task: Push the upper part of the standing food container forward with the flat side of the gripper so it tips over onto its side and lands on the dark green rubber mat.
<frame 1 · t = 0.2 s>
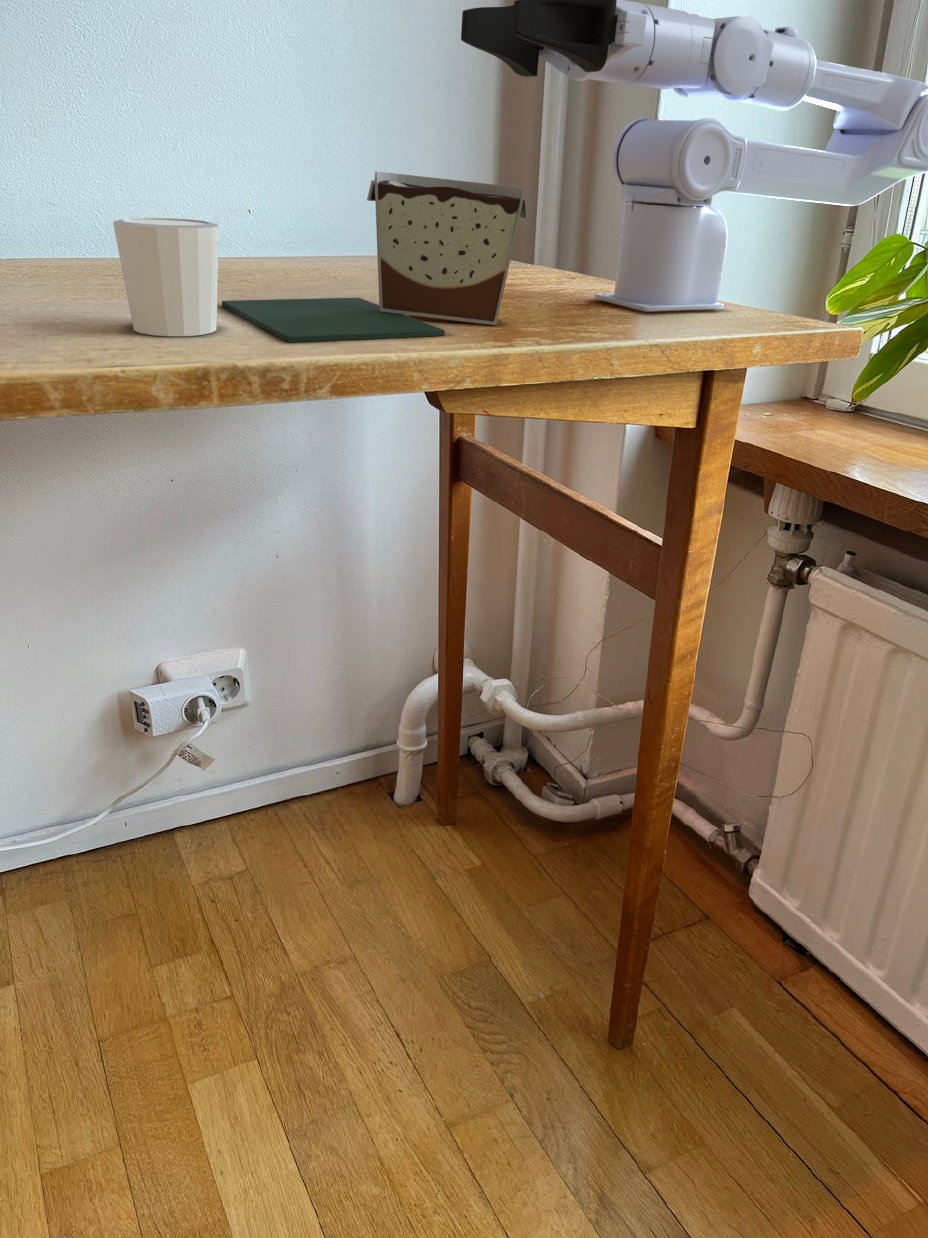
hand: (488, 20, 71), 21 cm above the table, tool horizontal, fingers open, 7 cm apart
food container: (442, 316, 78), on the table, touching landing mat
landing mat: (327, 319, 73), on the table
white cup: (175, 331, 67), on the table
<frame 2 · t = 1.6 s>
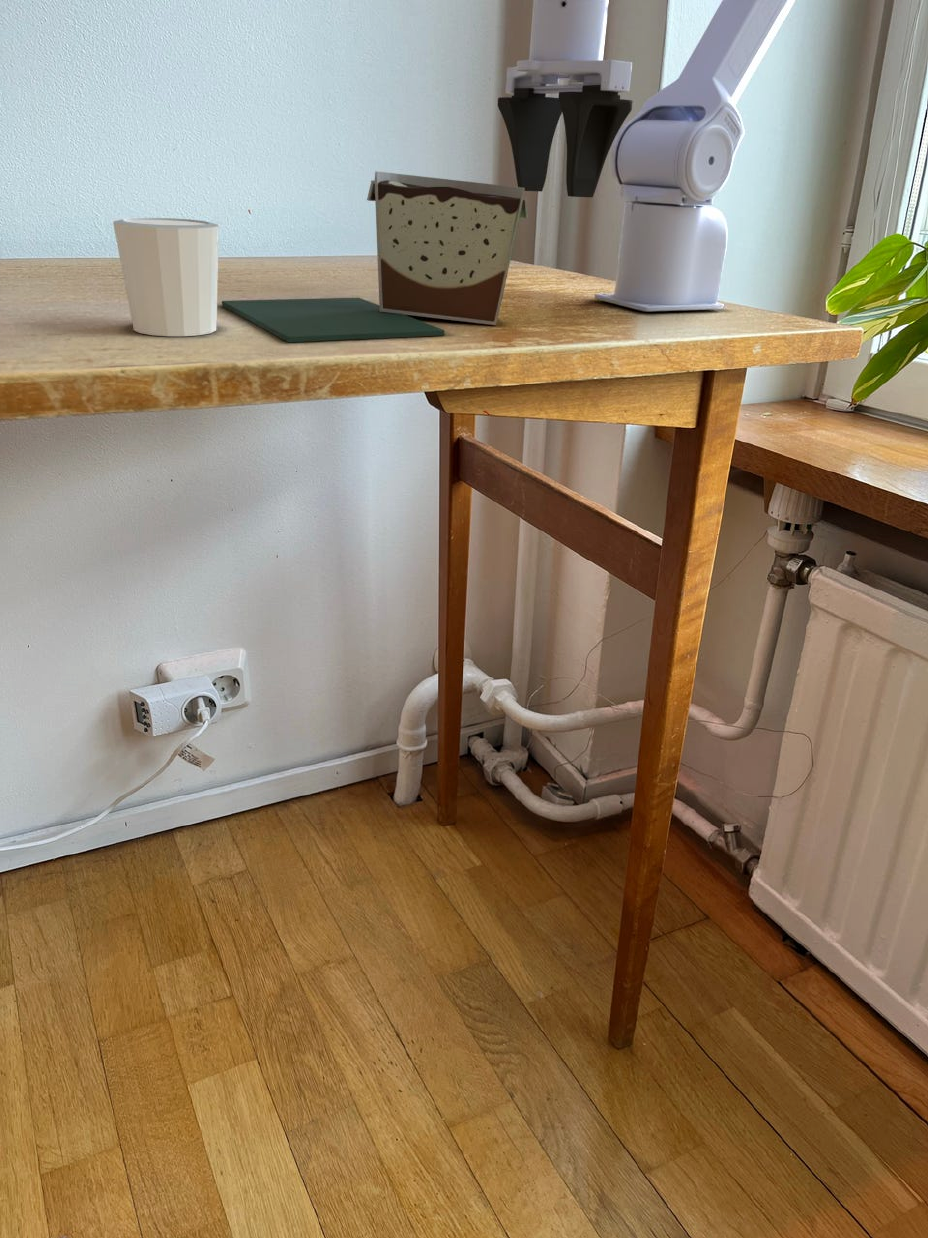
hand: (554, 193, 78), 9 cm above the table, tool pointing down, fingers open, 7 cm apart
nothing on the table moved.
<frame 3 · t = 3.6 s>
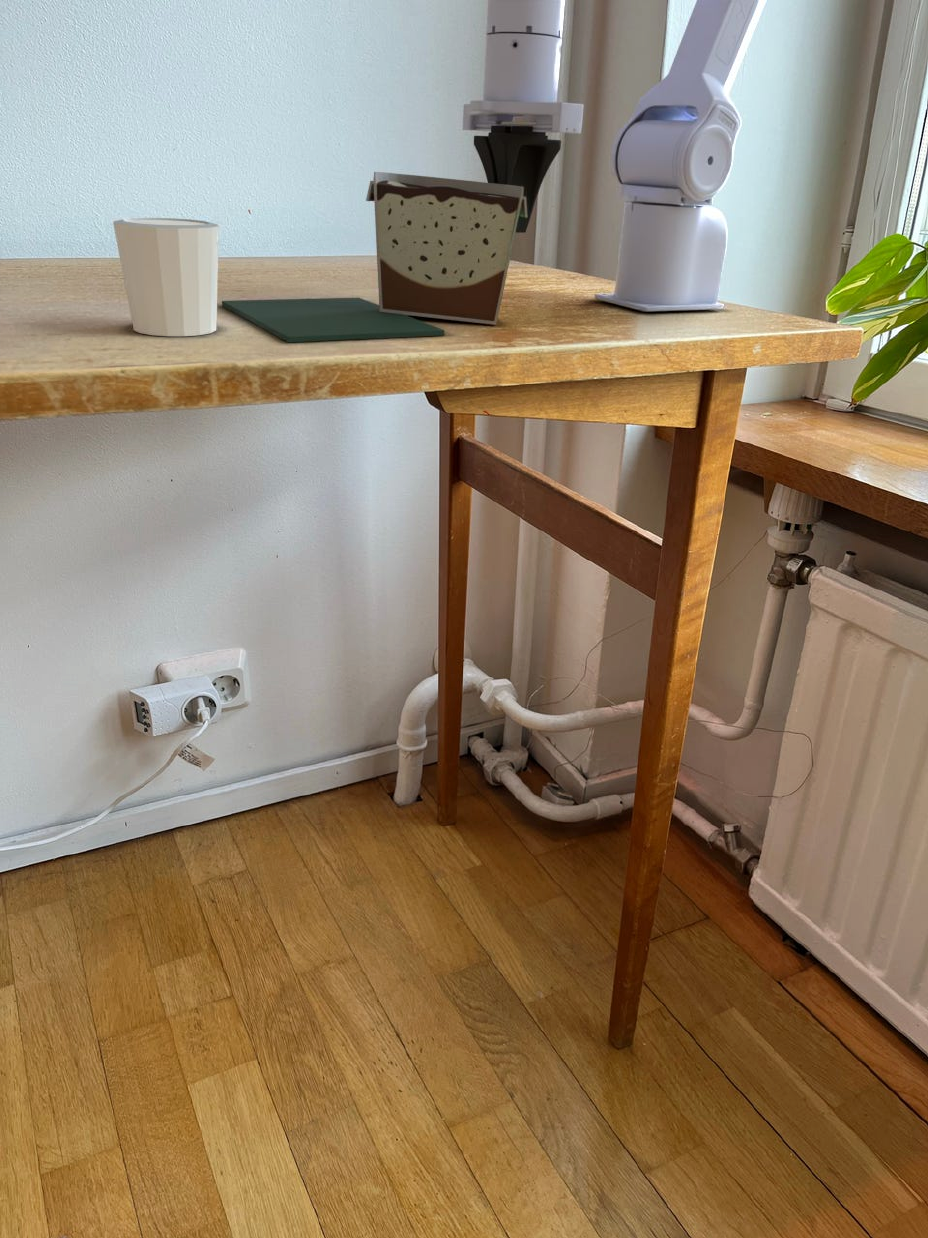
hand: (510, 231, 77), 6 cm above the table, tool pointing down, fingers closed
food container: (442, 315, 78), on the table, touching gripper, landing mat
everything else where it was.
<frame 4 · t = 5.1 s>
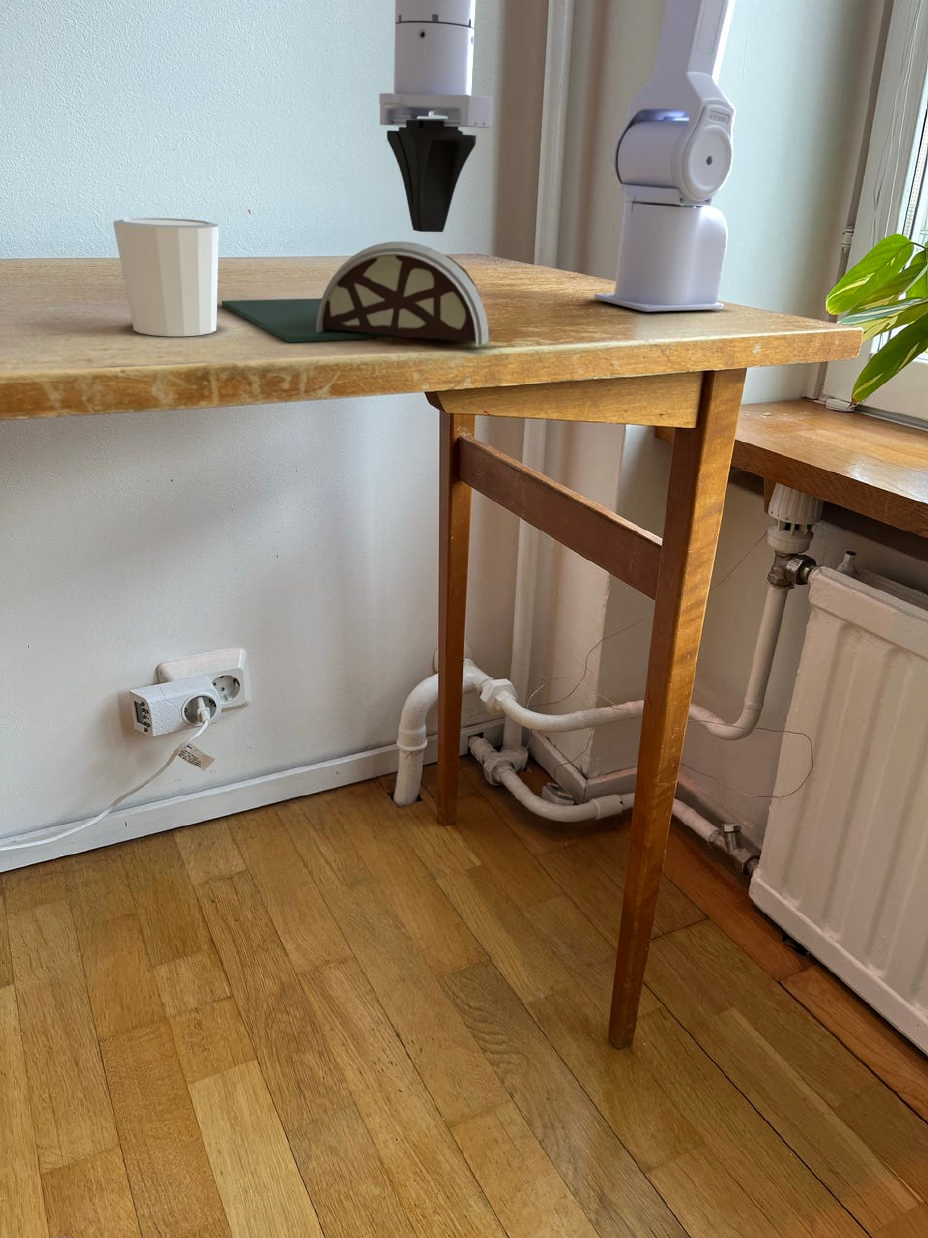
hand: (428, 231, 74), 6 cm above the table, tool pointing down, fingers closed
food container: (425, 275, 73), point 3 cm above the table, touching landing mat
everything else where it was.
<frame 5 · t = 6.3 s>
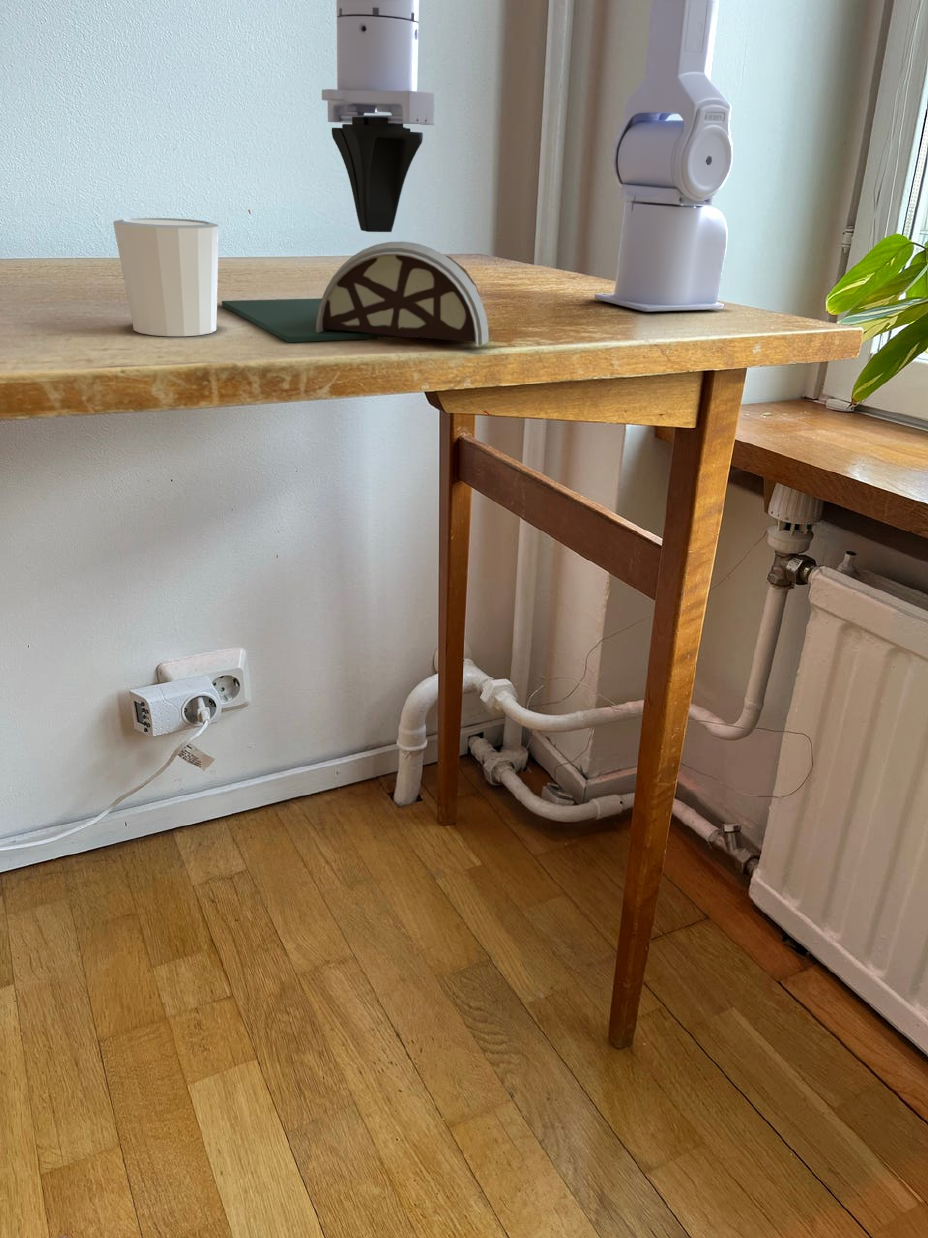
hand: (376, 231, 72), 6 cm above the table, tool pointing down, fingers closed
nothing on the table moved.
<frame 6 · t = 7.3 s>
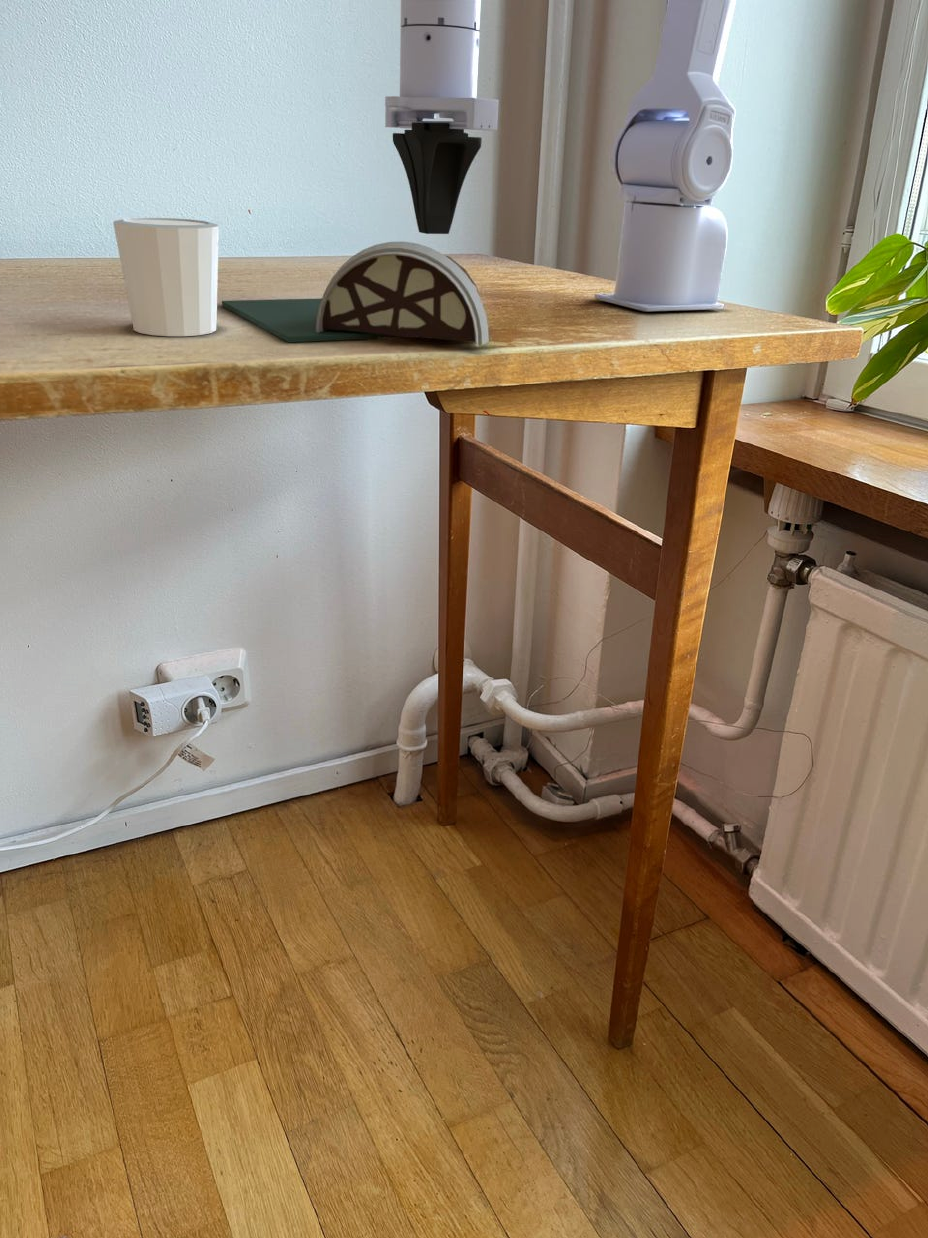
hand: (433, 233, 74), 6 cm above the table, tool pointing down, fingers closed
nothing on the table moved.
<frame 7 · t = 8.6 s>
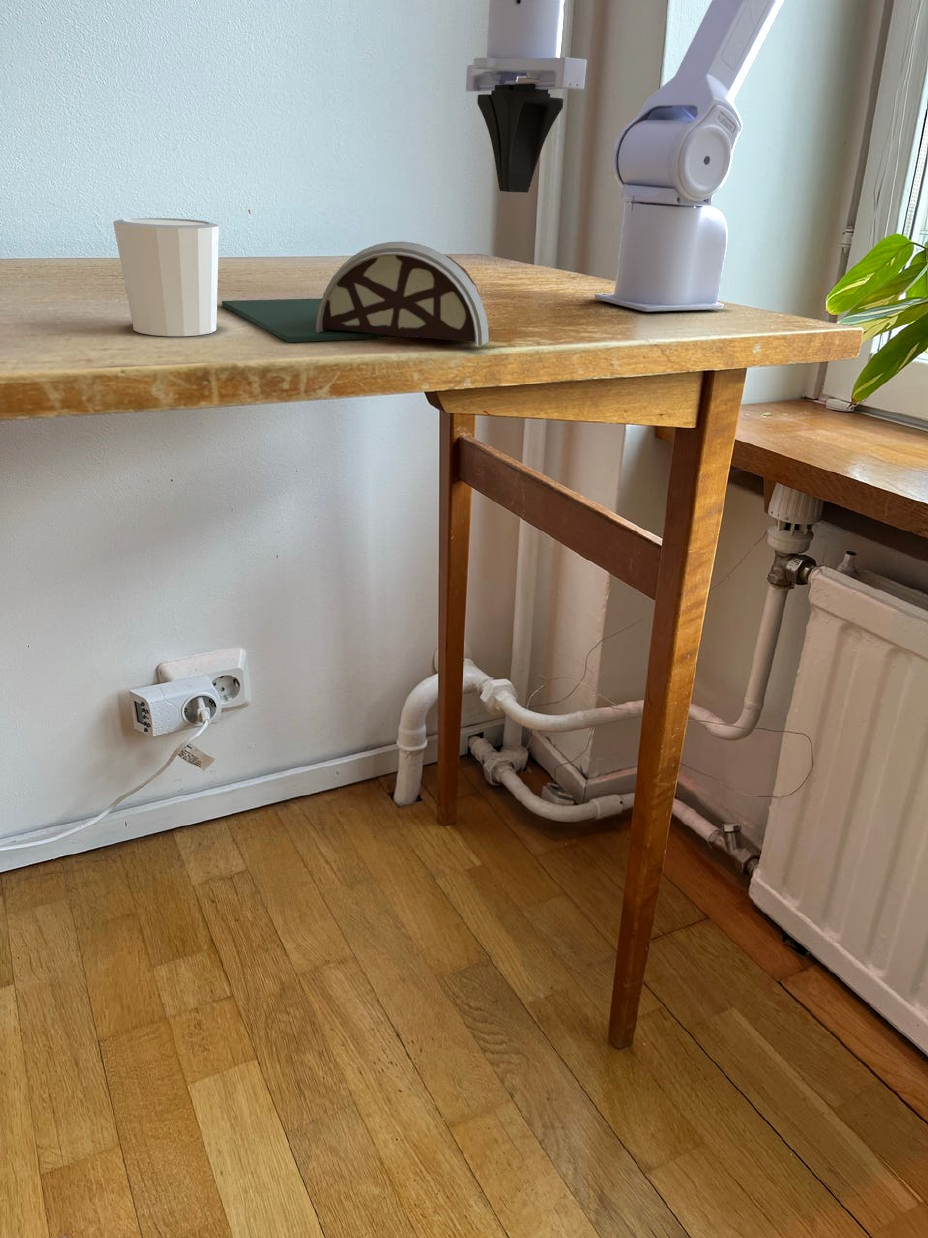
hand: (514, 191, 78), 9 cm above the table, tool pointing down, fingers closed
nothing on the table moved.
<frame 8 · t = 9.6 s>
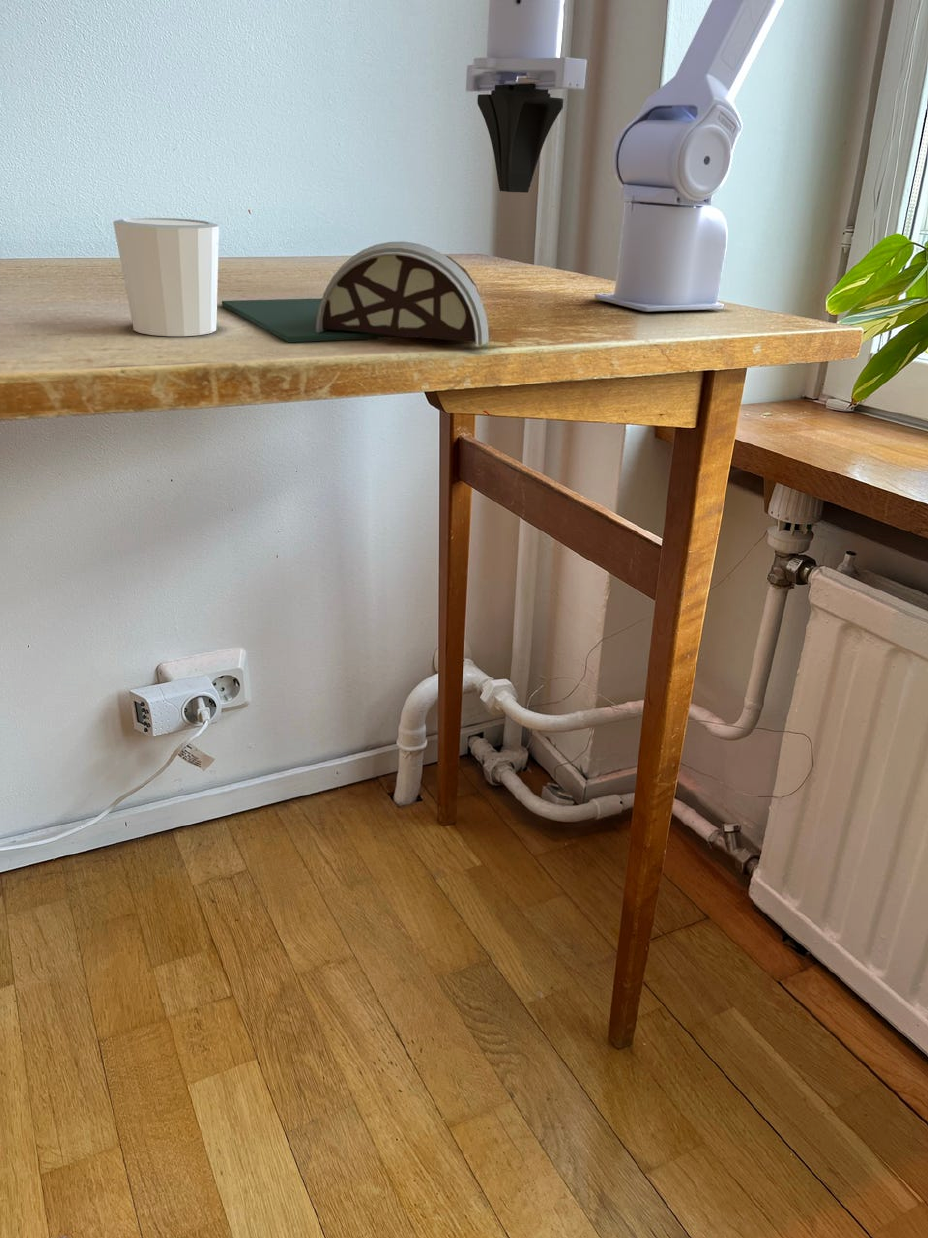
hand: (514, 191, 78), 9 cm above the table, tool pointing down, fingers closed
nothing on the table moved.
at the end: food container tilted 90°; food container inside the target area (5.6 cm from its centre), point 3.5 cm above the table; the gripper is holding nothing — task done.
